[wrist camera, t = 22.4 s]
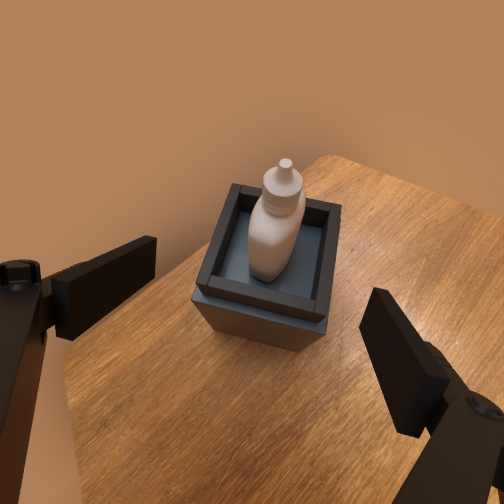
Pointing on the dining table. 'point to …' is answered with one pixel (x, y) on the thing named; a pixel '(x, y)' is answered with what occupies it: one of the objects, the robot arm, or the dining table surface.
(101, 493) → the dining table surface
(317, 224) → the pedestal
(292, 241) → the eye dropper bottle
